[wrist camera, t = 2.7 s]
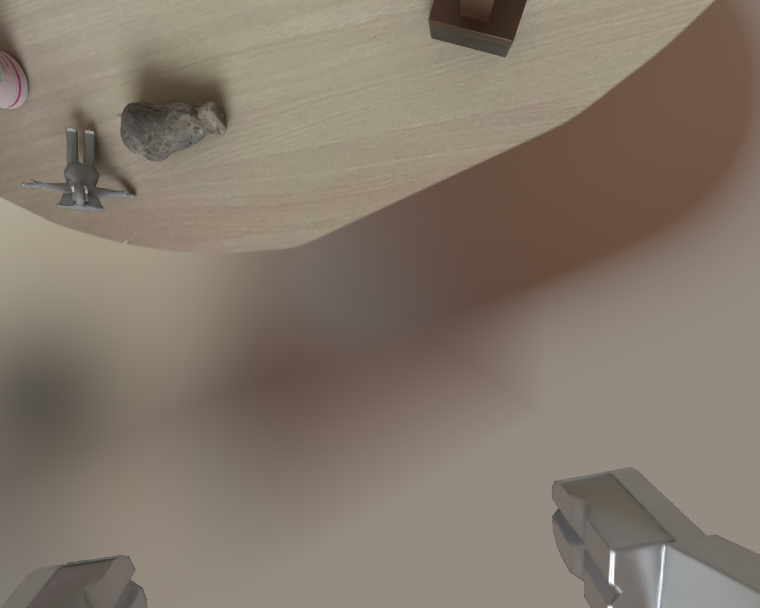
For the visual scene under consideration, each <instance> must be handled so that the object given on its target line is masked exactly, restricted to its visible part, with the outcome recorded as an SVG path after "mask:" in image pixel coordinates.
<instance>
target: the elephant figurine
mask: <svg viewBox="0 0 760 608" xmlns="http://www.w3.org/2000/svg"><path fill="white" fill-rule="evenodd" d="M84 136H85V153H84V163H82V164H81V163H80V162H79V158H78V132H77V131H76V130H75V129H72V128H67V129H66V137H67V163H68V165H67V167H66V168H65V170H64V176H65V178H66V181H67V182H66V183H56V184H46V183H41V182H37V181H34V180H31V182H32V183H25V182H22V185H23V186H27V187H31V188H35V189H41V188H47V189H51V190H54V191H56V192H60V193H63V196H62V198H61V201H60V202H59V203H57V204H56V205H57V206H60V207H63V208H74V209H75V210H76V211H82V212H87V211H89V210H95V211H101V210H104V209H105V208H104V207H103V206H102V205H101V203H100V201H99V198H109V197H115V196H119V197H123V198H130V197H132V198H133V197H136V195H135V194H128V193H127V190H125V191H113V190H109V189H103V188H98V187H96V184H97V182H98V180H99V173H98V171H97V169H96V167H95V164H96V162H95V139H96V134H95V133H94V132H93V131H91V130H88V131H87V130H85V131H84Z"/></svg>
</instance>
